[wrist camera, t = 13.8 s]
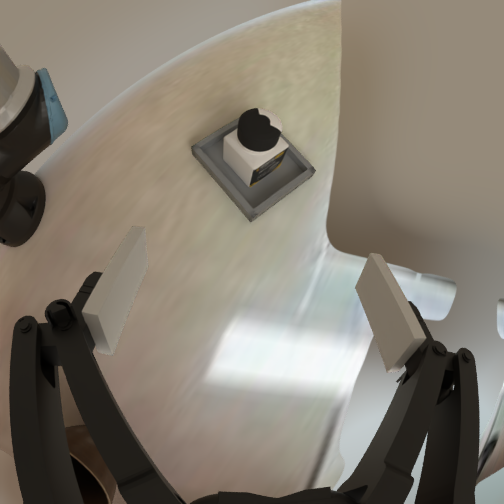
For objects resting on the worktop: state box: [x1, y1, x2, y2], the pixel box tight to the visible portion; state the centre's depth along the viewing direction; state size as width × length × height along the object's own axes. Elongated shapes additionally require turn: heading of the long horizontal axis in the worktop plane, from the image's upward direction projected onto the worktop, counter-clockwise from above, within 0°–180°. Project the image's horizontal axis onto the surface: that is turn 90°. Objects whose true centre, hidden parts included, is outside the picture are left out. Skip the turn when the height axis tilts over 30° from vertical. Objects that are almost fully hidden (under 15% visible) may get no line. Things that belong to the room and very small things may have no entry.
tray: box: [191, 117, 316, 222], centre depth 46 cm, size 16×14×2 cm
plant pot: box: [65, 425, 117, 504], centre depth 27 cm, size 15×15×16 cm
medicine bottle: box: [223, 108, 289, 187], centre depth 40 cm, size 7×7×12 cm
